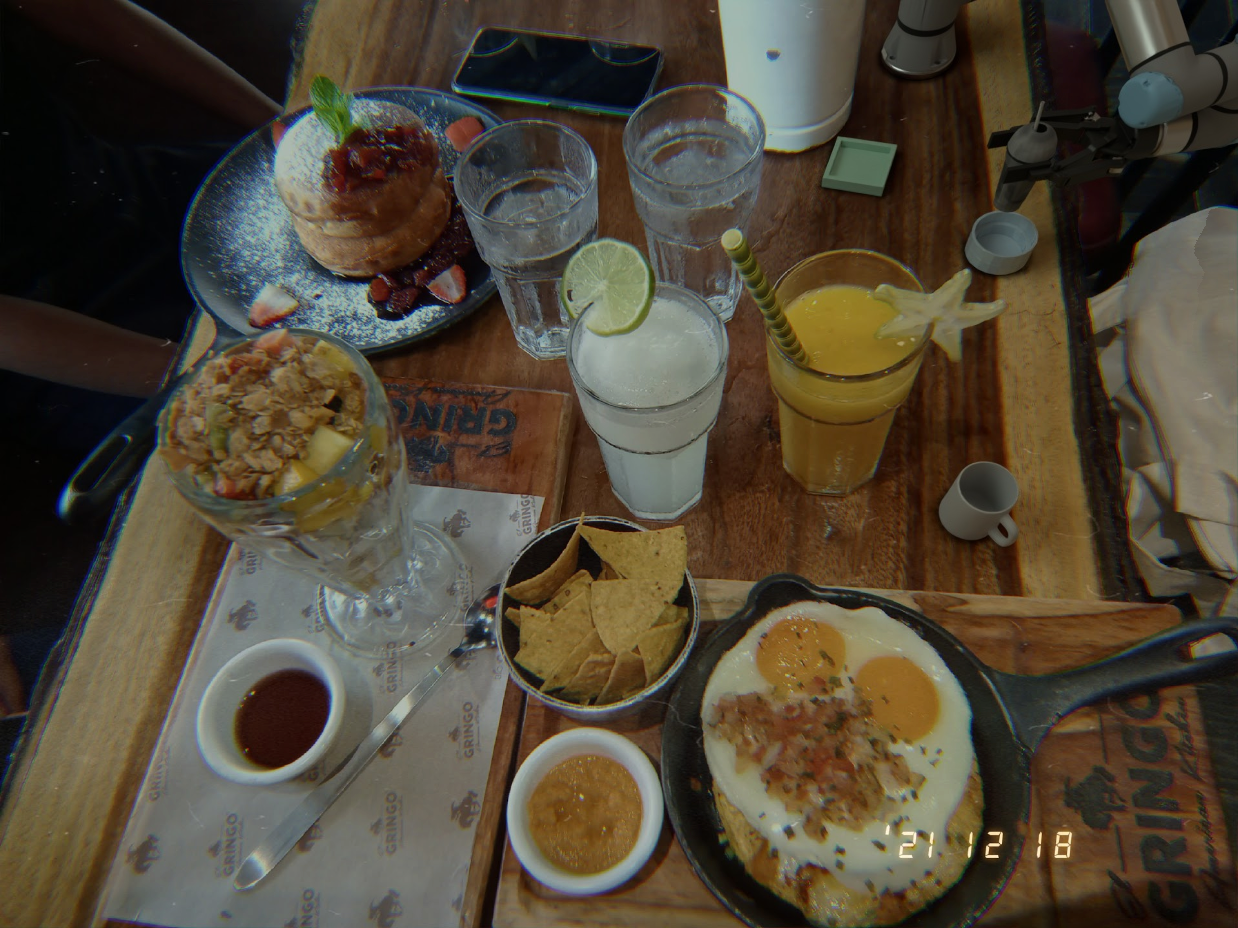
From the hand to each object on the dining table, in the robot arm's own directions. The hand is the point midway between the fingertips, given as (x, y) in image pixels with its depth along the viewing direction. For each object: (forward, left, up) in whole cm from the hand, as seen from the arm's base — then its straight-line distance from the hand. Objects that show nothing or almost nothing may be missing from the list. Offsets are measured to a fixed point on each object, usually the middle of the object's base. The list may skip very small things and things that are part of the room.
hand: (997, 158), depth 118 cm
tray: (-16, -23, -22) cm, 36 cm away
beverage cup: (-2, +4, -11) cm, 12 cm away
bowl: (-1, +6, -22) cm, 23 cm away
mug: (+54, +12, -22) cm, 59 cm away
